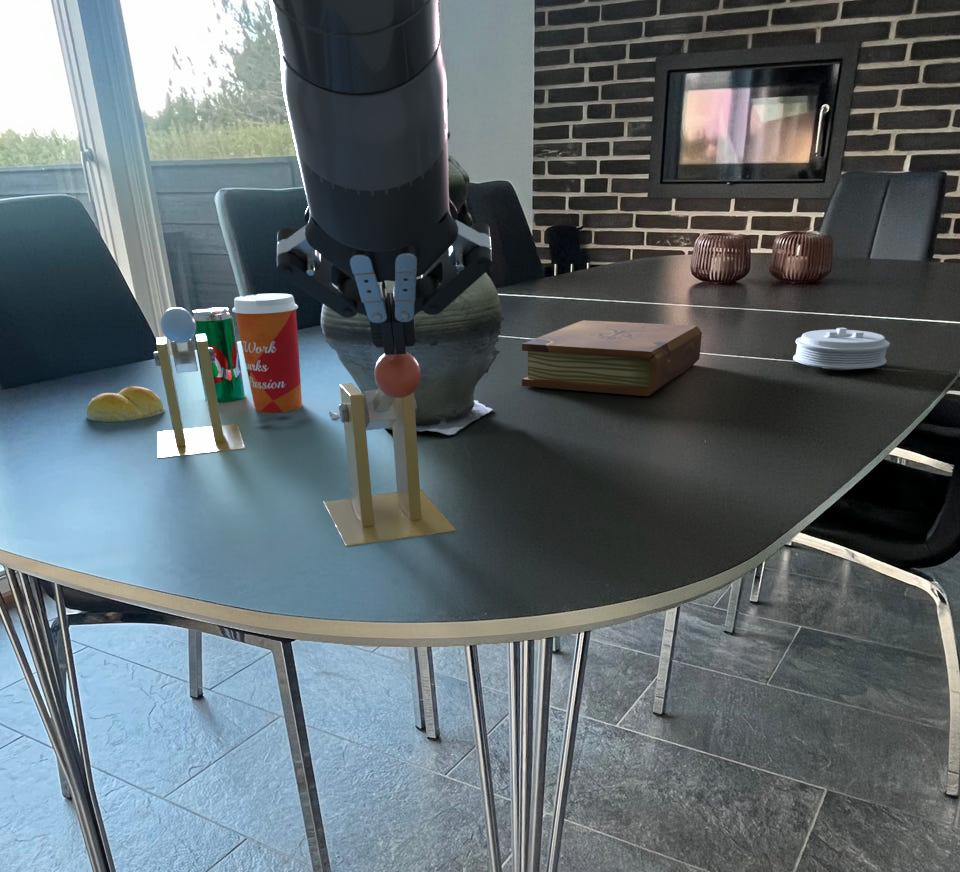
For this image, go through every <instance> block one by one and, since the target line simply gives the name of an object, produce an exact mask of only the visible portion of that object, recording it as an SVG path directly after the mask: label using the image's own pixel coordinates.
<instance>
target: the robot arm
mask: <svg viewBox="0 0 960 872" xmlns="http://www.w3.org/2000/svg"><path fill="white" fill-rule="evenodd" d="M268 2H269V7H270V11H271V16H272V21H273V25H274V30H275V34H276V39H277V43H278V48H279V49H278V50H279V55H280V56H279V57H280V58H279V59H280V71H281V84H282V85H281V86H282V91H283V97H284V102H285V106H286V111H287V116H288V121H289V125H290V130H291V134H292V139H293V143H294V148H295V153H296V157H297V162H298V165H299V171H300V175H301V179H302V184H303V188H304V193H305V198H306V201H307V205H308V206H307V208H306V210H305V212H304V222H305V224H306V225H304V226H303V227H301V228H299V230H297V231H296V230H294V229H293V228H290V227H283V228H280V229H278V231H277V233H276V272H277V273H278V274H279V275H280V276H281V277H282V278H284V279H285V280H286V281H288V282H290V283H291V284H293V285H295V287H297V288H299V289H300V290H302V291H304V292H305V293H306V294H308V295H309V296H310V297H312V298H314V299H315V300H317V301H318V302H320V303H321V304H322V305H323V304H324V305H326V306H327V307H329V308H330V309H332V310H333V311H335V312H336V313H338V314H339V315H341V316H343V317H347V318H349V317H353V316H355V315H356V314H357V313H361V314H364V315H365V316H367V317H368V319H369V322H370V328H371V334H372V341H373V344H374V345H375V346H376V347H377V348H379V347H384V354H385V355H393V354H395V352H396V354H406V346H414V344H415V342H416V336H415V317H414V316H415V315H416V314H417V313H418V312H420V311H424V312H425V313H427V314H429V315H436V314H439V313H440V312H441V311H443V310H444V309H445V308H446V307H447V306H448V305H449V304H451V303H452V302H453V301H454V300H455V299H456V298H457V297H458V296H460V295H461V294H462V293H463V292H464V291H465V290H466V289H467V288H469V287H470V286H471V285H472V284H473V283H474V282H475V281H476V280H478V279H479V278H480V277H481V276H482V275H483V274H484V273H485V272H486V273H487V272H489V270H490V269H491V268H492V267H493V257H492V252H493V251H492V239H491V232H490V226H489V225H488V224H487V223H484V222H475V223H473V225H472V226H471V227H468V226H467V225H465V224H463V223H461V222H459V221H458V220H457V218H458V214H457V210H456V207H455V206H454V204H453V203H452V202H451V200H450V198H449V178H448V155H449V140H448V131H449V129H448V128H449V126H448V122H449V121H448V109H449V99H450V98H449V93H448V83H447V82H448V80H447V71H446V64H445V58H444V53H443V46H442V39H441V38H442V37H441V9H440V8H441V7H440V0H268ZM421 275H422V278H419V279H416V277H419V276H421ZM386 281H394V289H393V293H391V297H390V293H387V291H386ZM332 283H333V284H334V285H335V286H337V288H335V287H334V286H333V284H332Z"/></svg>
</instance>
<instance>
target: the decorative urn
mask: <svg viewBox="0 0 960 872" xmlns="http://www.w3.org/2000/svg"><path fill="white" fill-rule="evenodd" d="M450 137H451V132H450V131H449V130H448V141H449V139H450ZM448 178H449V198H450V200H451V202H452V203H453V204H454V206H455V207H456V210H457V214H458V218H457V220H458V221H459V222H461V223H463V224H465V225H467V226H468V227H471V226H472V225H473V224H474V222H473V221H474V220H473V218H472V215H471V214H470V213H469V212H468V205H467V204H468V203H467V198H468V193H469V187H470V186H471V185H470V182H471V181H470V179H471V178H470V176H469V174H468V172H467V171H466V170H465V169H464V168H463V167H462V166H461V165H460V163H459V162H458V160H457V159H456V158H454V157H453V156H452V155H450V154H448ZM419 278H422V275H421V276H419V277H416V279H419ZM332 284H333V283H332ZM333 286H334V287H335V288H337V286H335V285H334V284H333ZM393 289H394V281H386V291H387V293H390V297H391V293H393ZM501 303H502V302H501V299H500V296H499V293H498V290H497V288H496V285H495V284H494V282H493V280H492V278H491V277H490V276H489V275H488V273H487V272H485V273H484V274H483V275H482V276H481V277H480V278H479V279H478V280H476V281H475V282H474V283H473V284H472V285H471V286H470V287H469V288H467V289H466V290H465V291H464V292H463V293H462V294H461V295H460V296H458V297H457V298H456V299H455V300H454V301H453V302H452V303H451V304H449V305H448V306H447V307H446V308H445V309H444V310H443V311H441V312H440V313H439V314H436V315H429V314H427V313H425V312H424V311H420V312H418V313H417V314H416V315H415V316H414V317H415V336H416V342H415V344H414V346H406V352H407V353H409V354H411V355H412V356H413V357H414V358H415V359H416V361H417V363H418V364H419V367H420V372H421V378H420V382H419V385H418V387H417V389H416V390H415V391H414V398H415V400H416V405H417V413H416V415H415V416H416V432H425V431H429V432H437V433H440V434H443V435H447V436H451V435H455V434H457V433H458V432H459V431H461V429H464V428H465V427H467V426H468V425H470V424H471V423H472V422H475V421H477V420H479V419H480V418H481V417H483V416H485V415H486V414H489V413H490V412H492V411H493V410H494V409H493V408H491V407H486V405H485V404H483V403H480V402H479V400H476V399H475V396H474V395H475V391H476V390H475V389H476V386H477V384H478V382H479V381H480V380H481V379H482V378H483V376H484V375H485V374H488V373H489V370H490V368H491V366H492V364H493V363H494V361H495V360H496V358H497V355H499V353H501V351H499V350H498V349H497V347H496V343H499V340H500V339H499V336H500V334H502V332H501V329H502V322H503V321H504V319H505V318H504V317H503V310H502V304H501ZM320 327H321V330H322V335H323V336H324V338H325V339H324V342H326V343H328V345H329V347H330V349H332V350H333V351H334V352H335V355H336V356H337V358H338V360H339V361H340V363H341V365H343V367H344V368H345V370H346V371H347V373H348V374H349V375H350V376H351V378H352V380H353V381H354V383H355V384H356V386H357V387H358V388H357V389H358V390H359V391H360V392H361V394H362V395H363V393H364V391H371V390H378V389H379V387H378V386H377V384H376V381H375V376H374V371H375V366H376V363H377V361H378V360H379V358H380V357H381V356H382V355H383V354H384V347H379V348H377V347H376V346H375V345H374V344H373V341H372V334H371V328H370V322H369V319H368V317H367V316H365V315H364V314H361V313H357V314H356V315H355V316H353V317H349V318H347V317H343V316H341V315H339V314H338V313H336V312H335V311H333V310H332V309H330V308H329V307H327V306H326V305H324V304H323V303H322V307H321V313H320ZM328 415H330V420H335V419H338V418H340V415H339V412H332V411H329V412H328ZM384 429H385V430H386V429H387V430H393V429H392V427H391V428H384ZM384 429H383V430H384Z"/></svg>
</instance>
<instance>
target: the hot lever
mask: <svg viewBox="0 0 960 872" xmlns="http://www.w3.org/2000/svg"><path fill="white" fill-rule="evenodd" d="M374 376H375V381H376V384H377V386H378V387H379V389H378V390H371V391H364V393H363V403H364V414H365V426H366V431H374V430H384V428H391V427H392V426H393V424H394V422H395V421H396V419H397V416H396V410H395V404H394V400H395V398H404V397H407V396H409V395H410V394H412V393H413V392H414V391H415V390H416V389H417V387H418V385H419V382H420V378H421V372H420V367H419V364H418V363H417V361H416V359H415V358H414V357H413V356H412V355H411V354H409V353H407V352H406V354H396V352H395V354H393V355H385V354H383V355H382V356H381V357H380V358H379V360H378V361H377V363H376V366H375V371H374Z"/></svg>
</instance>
